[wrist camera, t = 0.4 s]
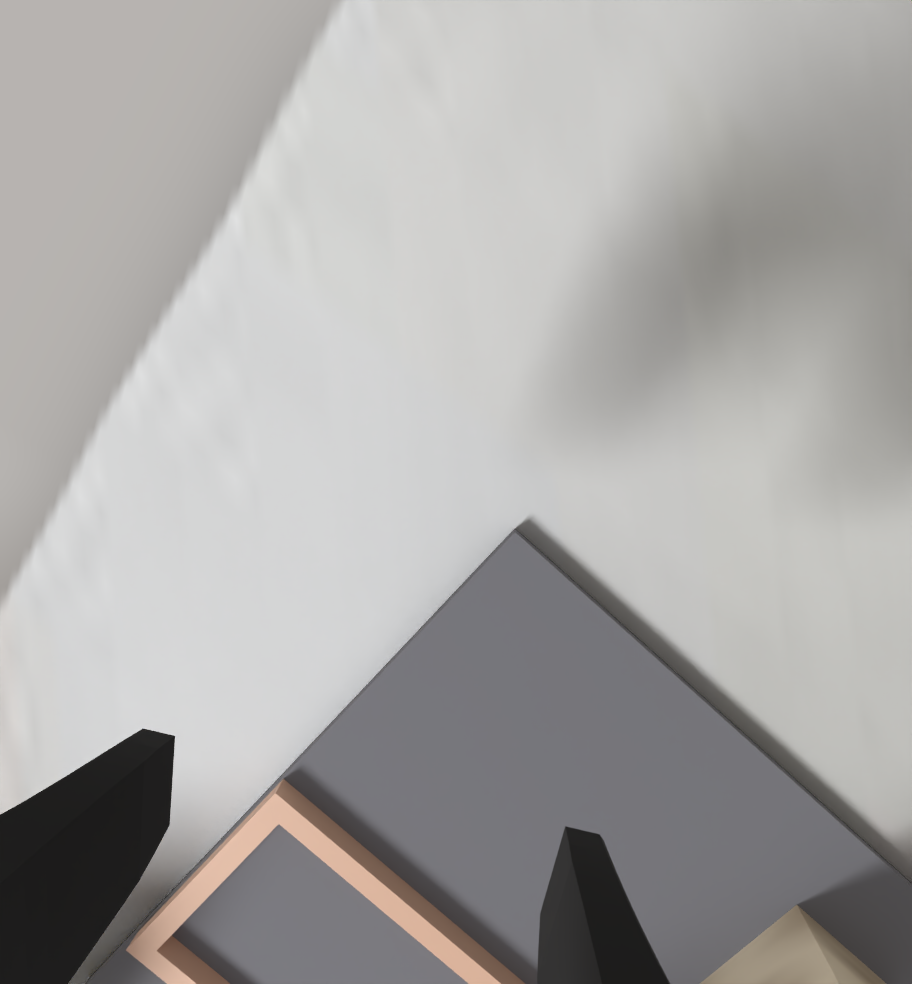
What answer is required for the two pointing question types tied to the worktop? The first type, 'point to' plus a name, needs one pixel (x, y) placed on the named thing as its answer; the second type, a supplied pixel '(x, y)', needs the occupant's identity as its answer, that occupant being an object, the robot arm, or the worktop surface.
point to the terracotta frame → (341, 852)
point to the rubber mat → (537, 808)
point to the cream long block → (794, 957)
